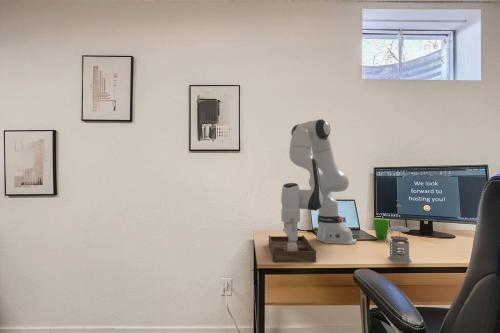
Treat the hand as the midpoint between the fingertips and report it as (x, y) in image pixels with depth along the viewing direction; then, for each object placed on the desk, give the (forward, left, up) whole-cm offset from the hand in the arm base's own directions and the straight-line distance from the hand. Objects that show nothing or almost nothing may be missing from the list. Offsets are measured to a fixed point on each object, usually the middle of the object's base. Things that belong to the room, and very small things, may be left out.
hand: (290, 246), depth 137 cm
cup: (-39, -54, -4) cm, 66 cm away
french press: (-46, -15, -4) cm, 48 cm away
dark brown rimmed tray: (+2, -5, -4) cm, 7 cm away
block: (-2, +3, -2) cm, 4 cm away
